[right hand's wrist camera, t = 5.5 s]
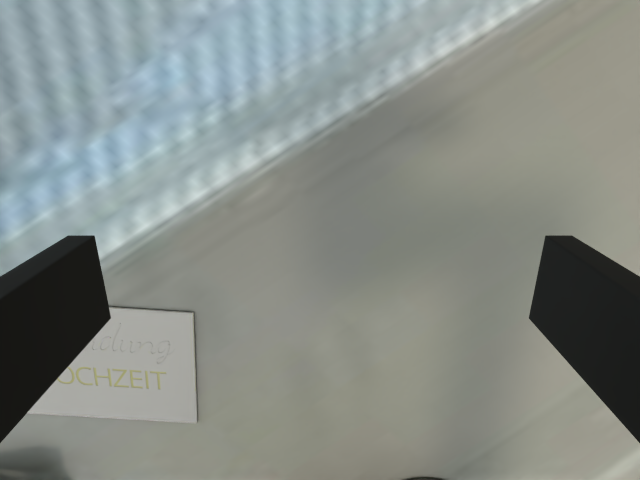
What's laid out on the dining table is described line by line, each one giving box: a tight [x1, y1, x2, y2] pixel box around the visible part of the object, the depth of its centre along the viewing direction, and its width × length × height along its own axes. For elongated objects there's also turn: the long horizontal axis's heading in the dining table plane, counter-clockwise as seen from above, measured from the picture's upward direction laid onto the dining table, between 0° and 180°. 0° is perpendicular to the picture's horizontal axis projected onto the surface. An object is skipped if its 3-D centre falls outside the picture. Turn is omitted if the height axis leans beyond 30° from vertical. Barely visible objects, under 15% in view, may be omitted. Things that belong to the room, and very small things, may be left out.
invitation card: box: [27, 307, 197, 423], centre depth 47 cm, size 21×1×15 cm
